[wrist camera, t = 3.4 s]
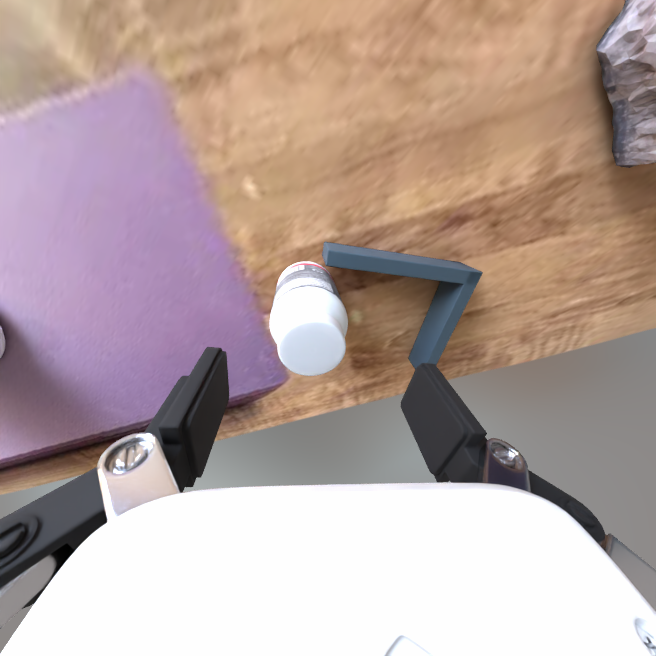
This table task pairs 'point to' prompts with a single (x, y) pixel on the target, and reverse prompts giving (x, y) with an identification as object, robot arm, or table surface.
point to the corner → (451, 274)
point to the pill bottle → (308, 320)
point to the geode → (631, 81)
